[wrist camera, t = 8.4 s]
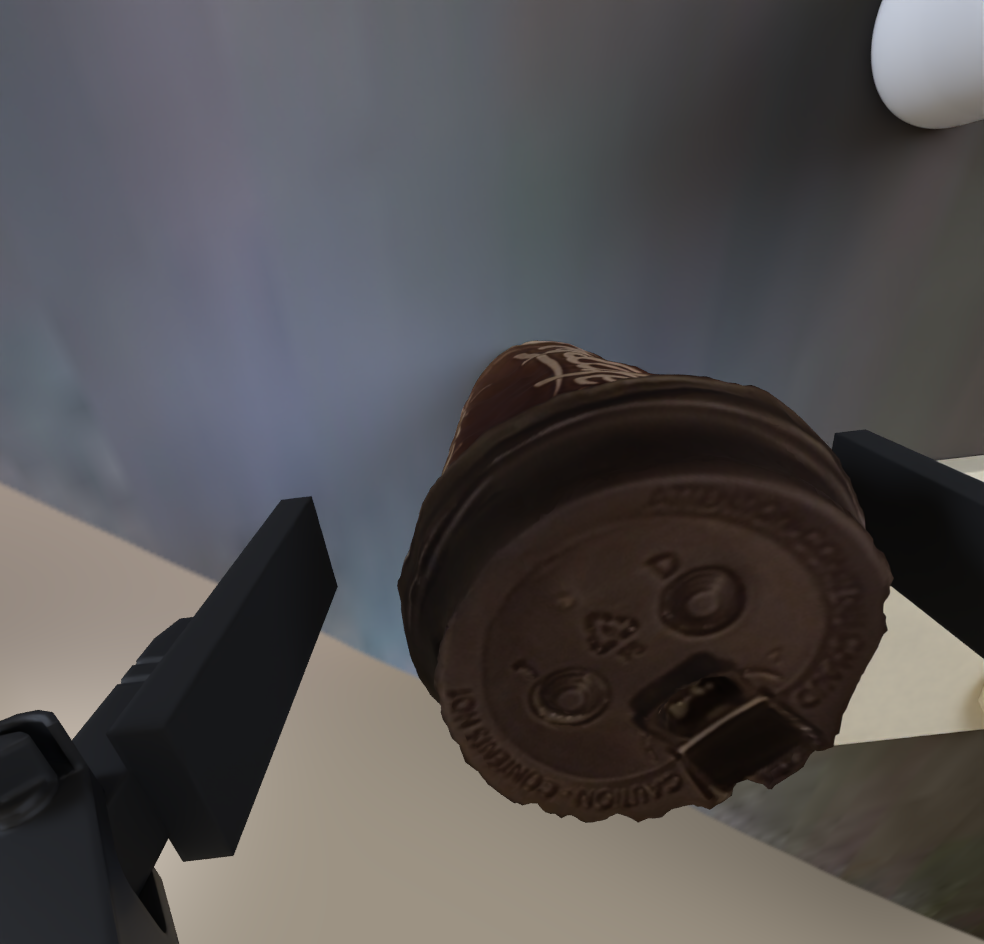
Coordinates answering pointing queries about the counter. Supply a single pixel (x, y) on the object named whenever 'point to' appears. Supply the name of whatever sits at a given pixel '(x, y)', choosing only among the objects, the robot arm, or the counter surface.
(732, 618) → the coffee cup
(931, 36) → the drinking glass
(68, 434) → the counter surface
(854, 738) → the scale
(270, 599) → the robot arm
